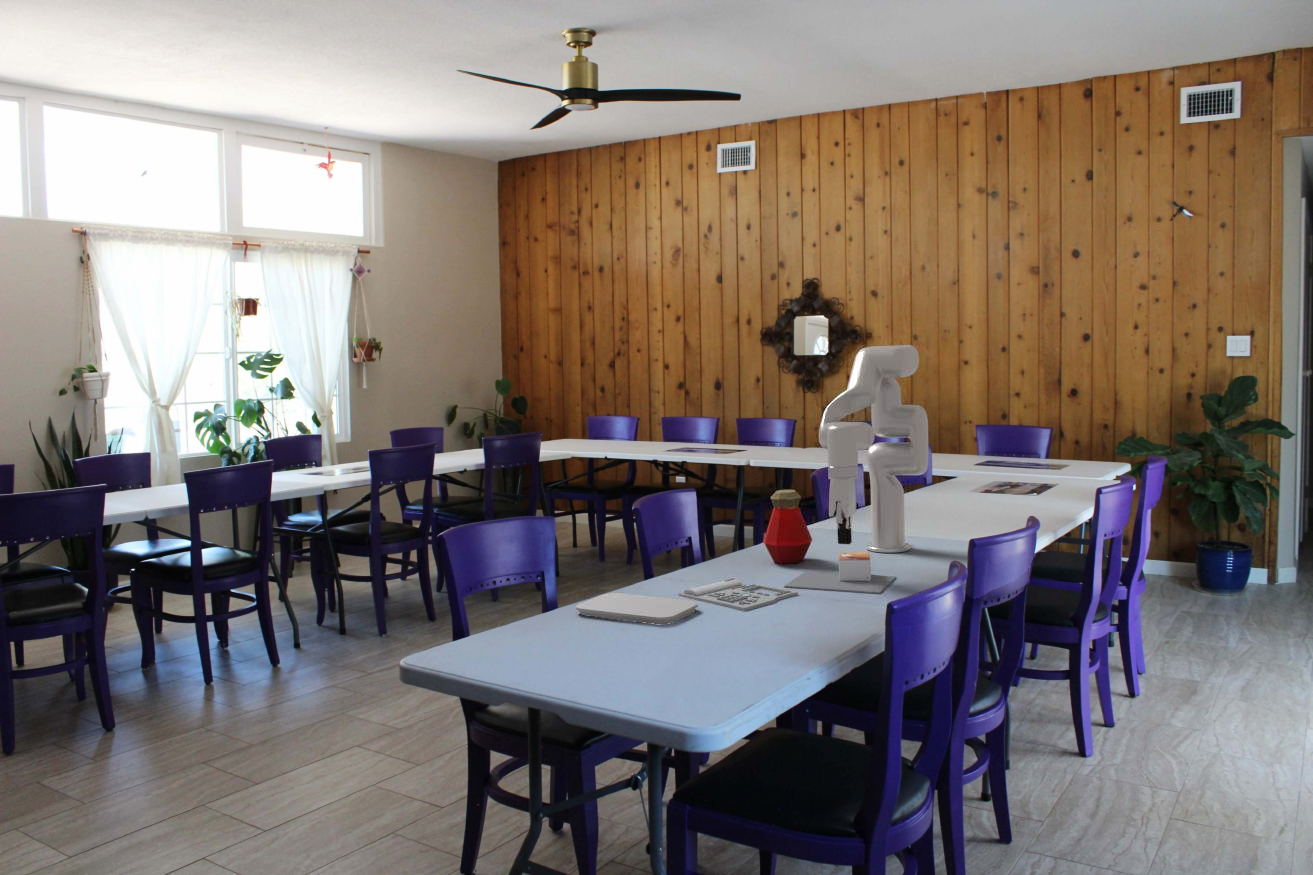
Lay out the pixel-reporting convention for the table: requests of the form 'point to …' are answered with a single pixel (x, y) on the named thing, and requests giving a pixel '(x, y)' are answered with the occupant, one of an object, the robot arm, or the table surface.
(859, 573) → the small box
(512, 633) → the table surface
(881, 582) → the mat
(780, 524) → the bottle
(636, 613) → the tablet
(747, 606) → the office telephone
